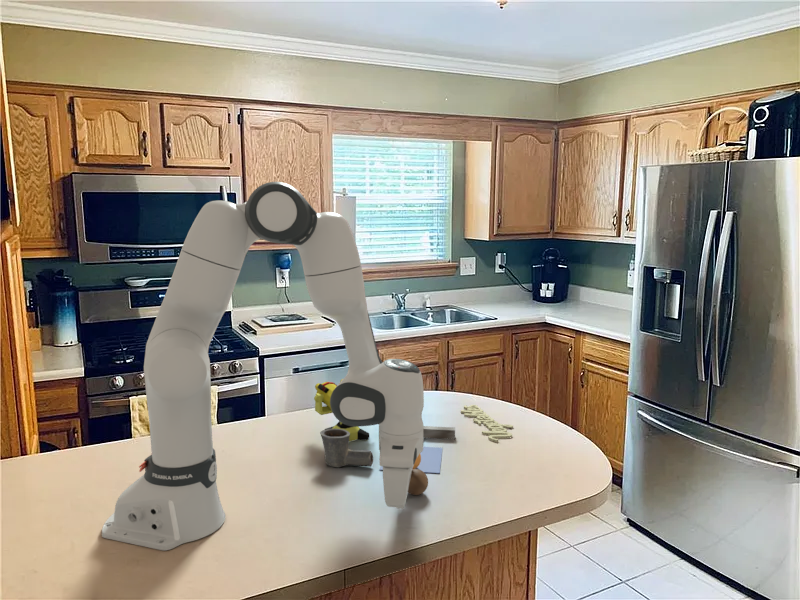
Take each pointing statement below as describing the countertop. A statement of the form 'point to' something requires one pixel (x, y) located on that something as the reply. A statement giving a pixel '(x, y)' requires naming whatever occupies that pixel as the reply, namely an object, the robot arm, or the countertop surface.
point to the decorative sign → (487, 423)
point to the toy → (324, 396)
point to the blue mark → (429, 460)
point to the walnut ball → (417, 482)
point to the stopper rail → (439, 432)
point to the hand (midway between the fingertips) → (400, 505)
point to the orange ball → (417, 462)
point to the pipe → (343, 450)
